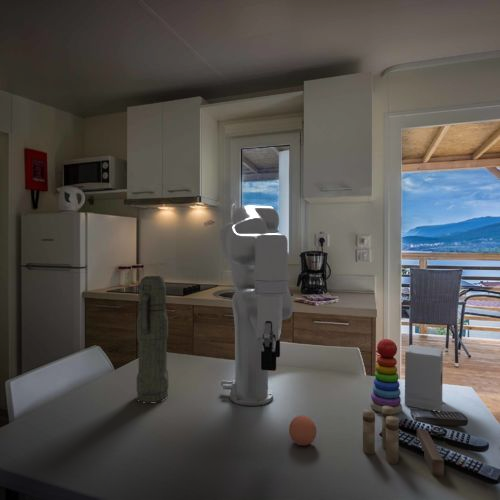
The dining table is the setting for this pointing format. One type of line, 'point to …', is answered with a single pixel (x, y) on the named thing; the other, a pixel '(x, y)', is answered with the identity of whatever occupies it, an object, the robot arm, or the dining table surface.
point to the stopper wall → (431, 453)
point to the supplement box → (423, 377)
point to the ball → (302, 430)
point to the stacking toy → (386, 378)
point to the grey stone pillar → (152, 340)
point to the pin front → (368, 431)
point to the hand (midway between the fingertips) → (271, 362)
